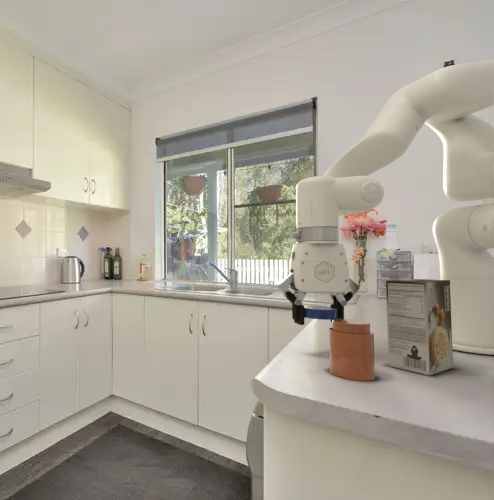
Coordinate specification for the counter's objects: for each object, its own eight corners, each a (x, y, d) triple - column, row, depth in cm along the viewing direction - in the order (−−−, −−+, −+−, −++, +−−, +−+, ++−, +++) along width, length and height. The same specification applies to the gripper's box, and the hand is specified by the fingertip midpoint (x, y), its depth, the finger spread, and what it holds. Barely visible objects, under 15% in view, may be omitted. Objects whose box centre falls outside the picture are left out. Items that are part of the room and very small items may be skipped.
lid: (338, 316, 70) (338, 307, 70) (336, 320, 64) (336, 311, 64) (301, 313, 74) (301, 304, 74) (296, 317, 68) (296, 307, 68)
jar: (327, 366, 62) (326, 317, 62) (370, 371, 59) (368, 319, 60) (332, 377, 56) (331, 323, 57) (379, 383, 54) (378, 326, 54)
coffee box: (410, 359, 66) (408, 278, 67) (454, 368, 61) (451, 280, 61) (387, 366, 62) (384, 279, 63) (431, 376, 57) (428, 281, 57)
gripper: (281, 236, 66) (281, 326, 66) (373, 236, 65) (374, 329, 64) (267, 238, 74) (267, 320, 73) (349, 238, 72) (350, 321, 72)
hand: (317, 323), depth 69 cm, fingers closed on lid, 6 cm apart
